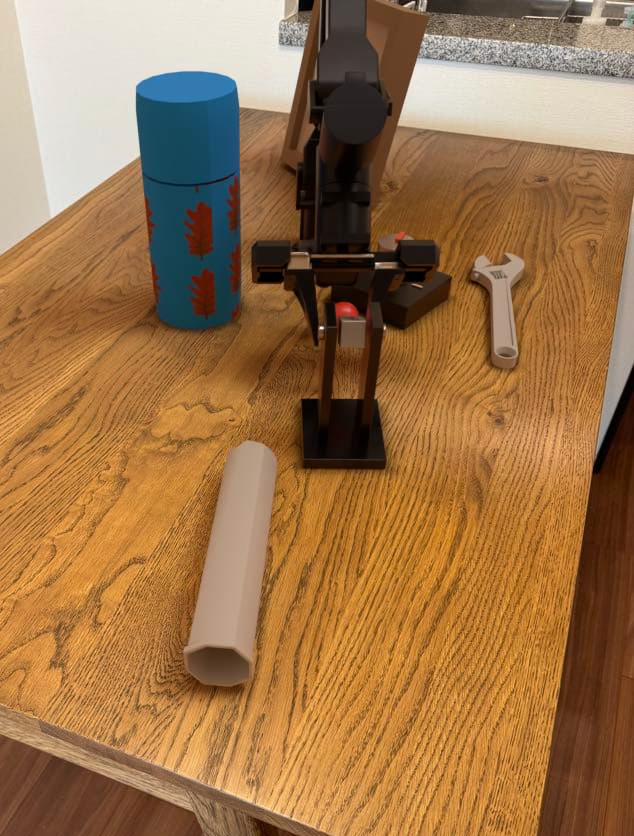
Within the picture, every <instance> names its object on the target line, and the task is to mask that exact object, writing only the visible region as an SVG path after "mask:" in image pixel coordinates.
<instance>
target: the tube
mask: <svg viewBox="0 0 634 836" xmlns="http://www.w3.org/2000/svg"><path fill="white" fill-rule="evenodd" d="M277 470H278V458H277V456H276V455H275V453H274V451H273V450H272V449H270V448H269V447H268V446H267V445H265V444H264V443H262V442H260V441H259V442H258V441H254V440H250V439H247V440H245V441H243V442H242V443H241V444H239V445H237V446H235V447H234V448H232V449H231V450H229V451H228V452H227V454H226V459H225V463H224V468H223V473H222V478H221V483H220V487H219V494H218V498H217V502H216V507H215V513H214V516H213V517H214V518H213V521H212V526H211V531H210V536H209V542H208V546H207V550H206V556H205V561H204V566H203V569H202V570H203V571H202V575H201V581H200V585H199V590H198V595H197V600H196V605H195V609H194V614H193V620H192V624H191V628H190V634H189V638H188V643H187V645H186V646H183V651H182V655H183V663H184V670H185V671H186V672H187V673H188V674H190V676H192V677H193V678H195V679H196V680H197V681H198V682H200V684H202V685H205V686H217V687H228V688H232V687H234V686H237V685H241V684H243V683H246V682H249V681H252V680H253V679H254V650H255V642H256V635H257V628H258V627H257V625H258V620H259V619H258V618H259V613H260V612H259V611H260V603H261V597H262V589H263V581H264V573H265V566H266V558H267V550H268V544H269V543H268V542H269V536H270V529H271V528H270V527H271V520H272V512H273V505H274V496H275V490H276V482H277V474H278V473H277V472H278V471H277Z"/></svg>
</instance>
